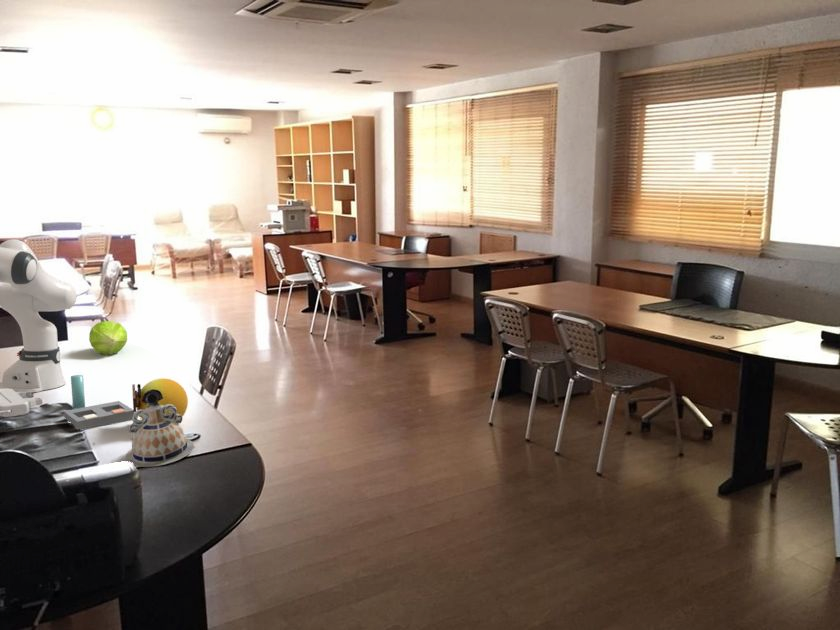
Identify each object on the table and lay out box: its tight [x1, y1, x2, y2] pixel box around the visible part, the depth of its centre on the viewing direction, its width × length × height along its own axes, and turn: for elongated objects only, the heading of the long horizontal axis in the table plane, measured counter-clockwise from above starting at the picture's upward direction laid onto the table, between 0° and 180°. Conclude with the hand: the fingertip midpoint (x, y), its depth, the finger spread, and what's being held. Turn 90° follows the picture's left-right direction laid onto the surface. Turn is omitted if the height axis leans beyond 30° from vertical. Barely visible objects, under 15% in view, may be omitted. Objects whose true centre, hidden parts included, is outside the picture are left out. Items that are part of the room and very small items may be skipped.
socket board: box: [63, 400, 135, 431], centre depth 215 cm, size 13×17×3 cm
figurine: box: [124, 389, 195, 468], centre depth 187 cm, size 18×18×20 cm
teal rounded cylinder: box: [70, 374, 86, 409], centre depth 222 cm, size 4×4×12 cm
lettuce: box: [88, 320, 128, 356], centre depth 301 cm, size 15×23×16 cm
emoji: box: [131, 377, 189, 420], centre depth 210 cm, size 16×16×15 cm
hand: (37, 397), depth 213 cm, fingers open, 8 cm apart
